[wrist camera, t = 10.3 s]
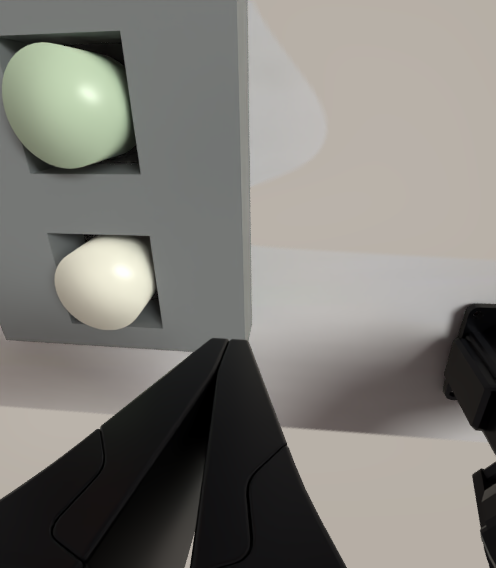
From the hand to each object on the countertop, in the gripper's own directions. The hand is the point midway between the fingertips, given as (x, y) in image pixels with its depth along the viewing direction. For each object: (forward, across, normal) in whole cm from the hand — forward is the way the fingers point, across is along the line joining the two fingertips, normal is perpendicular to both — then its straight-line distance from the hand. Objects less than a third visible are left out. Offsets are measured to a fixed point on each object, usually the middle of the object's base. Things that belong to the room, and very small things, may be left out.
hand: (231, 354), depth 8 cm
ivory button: (+12, +8, +3) cm, 14 cm away
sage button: (+12, +8, -5) cm, 15 cm away
